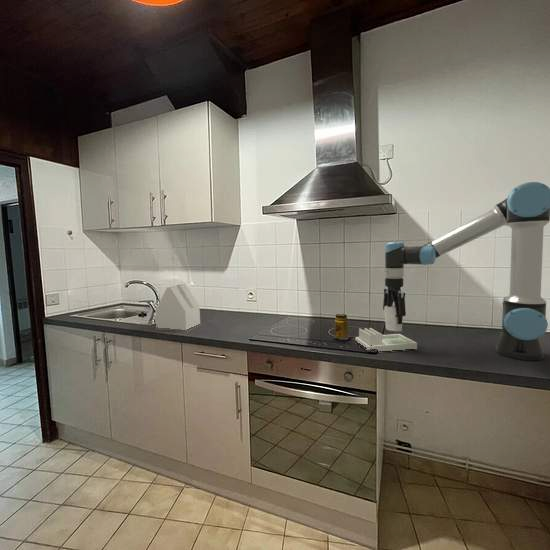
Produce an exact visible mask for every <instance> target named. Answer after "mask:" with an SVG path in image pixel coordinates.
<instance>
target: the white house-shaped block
mask: <svg viewBox="0 0 550 550" xmlns="http://www.w3.org/2000/svg"><path fill="white" fill-rule="evenodd" d="M200 310H201V309H200V305H199V303H198V301H197V300H196V298H195V297H194V295H193V293H192V291H191V290H190V289H189V287H188V285H186V283H180V284H176V285H171V286H167V287H166V289H165V291H164V293H163V295H162V297H161V299H160V300H159V303H158V305H157V306H156V309H155V324H156V327H155V328H157V327H158V328H170V329H181V330H187V329H189V328H191V327H194V326H196V325H198V324H200V325H201V311H200Z"/></svg>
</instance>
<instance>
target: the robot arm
mask: <svg viewBox="0 0 550 550" xmlns="http://www.w3.org/2000/svg"><path fill="white" fill-rule="evenodd" d="M549 223H550V187H549V186H548V185H547V184H545V183H542V182H538V181H528V182H525V183H522V184H519V185H518V186H516V187H514V188H513V189H512V190H511V191H510V192H509V194H508V196H507V197H506V198H505V199H504V200H502V201H501V202H499V203H497V204H495V205H494V207H493V209H490V210H489V211H487V212H485V213H483V214H480V215H479V216H478V217H476V218H473V219H471V220H470V221H468V222H466V223H463V224H462V225H460V226H459V227H455V228H454V229H453V230H451V231H448V232H446V233H444V234H443V235H441V236H438V237H437V238H435V239H433V240H431V241H429V242H427V243H426V244H425V243H424V244H423V245H419V246H417V245H416V246H405V242H403V241H395V242H391V241H389V242H387V243H386V244H385V253H384V254H385V255H384V258H385V261H384V262H385V266H384V267H385V268H384V269H385V270H384V272H385V273H384V276H385V279H384V286H385V287H386V288H384V289H383V305H382V309H383V310H384V311H385V308H384V307H385V306H388V307H391V306H392V305H393V304H394V305H395V309H396V316H395V331H394V332H403V322H402V317H403V318H404V317H405V316H406V293H405V292H402V290H401V288H402V287H404V276H405V275H404V273H405V272H404V271H405V269H404V267H405V266H404V265H424V266H426V265H434V264H435V262H436V259H437V258H439V257H441V256H443V255H445V254H447V253H450V252H452V251H453V250H455V249H458V248H460V247H462V246H464V245H466V244H468V243H470V242H472V241H475V240H476V239H478V238H481V237H483V236H485V235H487V234H489V233H491V232H492V231H495V230H497V229H500V228H501V227H503V226H506V227H507V226H508V227H510V228H511V241H510V242H511V243H510V244H511V245H510V272H509V274H510V275H509V279H510V280H509V294H508V296H505V297H503V299H502V303H501V305H502V319H501V334H500V336H499V337H498V340H497V342H496V345H495V351H496V353H497V354H499V355H501V356H504V357H506V358H510V359H515V360H516V359H517V360H521V361H532V362H533V361H534V362H535V361H543V360H544V358H545V351H544V349H543V345H542V342H541V340H540V338H541V337H543V335H545V333H546V332H547V329H548V326H549V323H548V320H547V316H546V315H547V300H545V299H544V298H543V297H542V295H541V294H542V276H543V275H542V271H543V250H544V249H543V248H544V228H545V226H546V225H547V224H549Z"/></svg>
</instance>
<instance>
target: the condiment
mask: <svg viewBox="0 0 550 550" xmlns="http://www.w3.org/2000/svg"><path fill="white" fill-rule="evenodd" d="M348 326H349V322H348V315H347V314H344V313H337V314H335V320H334V334H335V335H334V336H335V337H336V338H347V337H349V327H348ZM335 337H334V338H335Z"/></svg>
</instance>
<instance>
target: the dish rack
mask: <svg viewBox="0 0 550 550" xmlns="http://www.w3.org/2000/svg"><path fill="white" fill-rule="evenodd" d="M355 340H356V341H357V342H358V343H360V344H361V345H363V346H364V347H366V348H367V349H369V350H370V349H377V350H378V351H391V352H393V351H392V350H403V351H406V350H405V349H415V350H418V343H417V342H416V341H414V340H413V339H411V338H409V337H407V336H405V335H402V334H401V333H393V334H392V333H391V334H382V333H381V332H378V331H377V330H375V329H373V328H372V327H369V328H366V327H364V328H363V329H362V328H358V336H355V338H354V341H355ZM371 345H372V346H371Z"/></svg>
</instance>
